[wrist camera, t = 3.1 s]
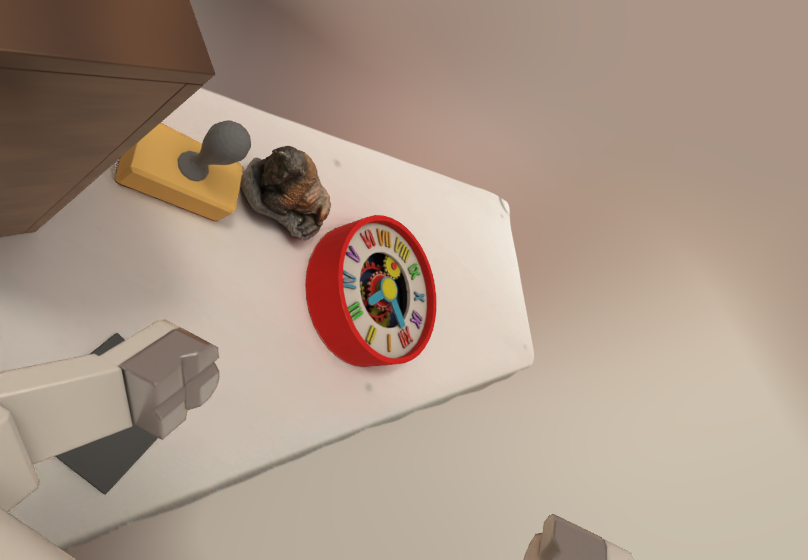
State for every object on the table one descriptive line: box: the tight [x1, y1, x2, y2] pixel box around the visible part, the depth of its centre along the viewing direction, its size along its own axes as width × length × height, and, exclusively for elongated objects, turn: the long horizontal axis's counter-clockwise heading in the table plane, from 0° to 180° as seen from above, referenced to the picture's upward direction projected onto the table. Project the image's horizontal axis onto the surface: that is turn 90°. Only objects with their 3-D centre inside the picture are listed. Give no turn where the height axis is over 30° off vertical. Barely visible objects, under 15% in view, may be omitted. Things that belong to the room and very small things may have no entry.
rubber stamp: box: [115, 121, 251, 221], centre depth 40 cm, size 10×6×12 cm, turn 87°
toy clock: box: [306, 215, 436, 367], centre depth 61 cm, size 20×6×20 cm
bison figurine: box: [240, 146, 331, 240], centre depth 50 cm, size 12×7×10 cm, turn 83°
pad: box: [56, 333, 158, 494], centre depth 36 cm, size 9×9×1 cm
